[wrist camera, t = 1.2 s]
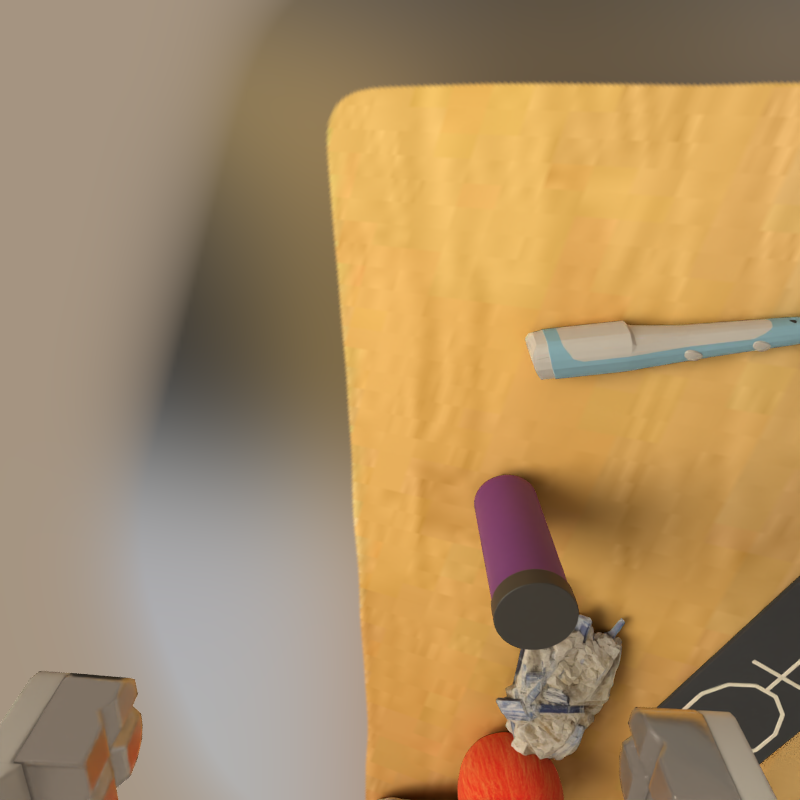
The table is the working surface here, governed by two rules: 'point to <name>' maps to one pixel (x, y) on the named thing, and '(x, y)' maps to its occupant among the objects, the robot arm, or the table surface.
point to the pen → (649, 344)
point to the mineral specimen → (561, 690)
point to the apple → (506, 773)
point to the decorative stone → (392, 798)
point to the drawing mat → (754, 677)
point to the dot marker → (523, 566)
